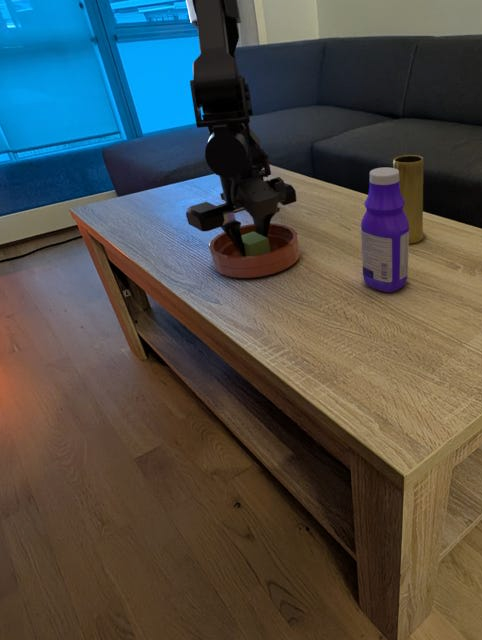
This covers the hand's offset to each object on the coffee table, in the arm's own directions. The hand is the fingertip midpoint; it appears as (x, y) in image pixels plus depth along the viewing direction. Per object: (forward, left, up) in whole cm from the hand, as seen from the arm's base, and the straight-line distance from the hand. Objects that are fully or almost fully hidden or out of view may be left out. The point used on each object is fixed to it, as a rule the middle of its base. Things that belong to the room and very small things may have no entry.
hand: (253, 251), depth 82 cm
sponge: (0, 0, -1) cm, 1 cm away
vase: (+15, +25, -2) cm, 29 cm away
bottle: (+25, +9, -2) cm, 27 cm away
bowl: (+1, 0, -1) cm, 2 cm away
